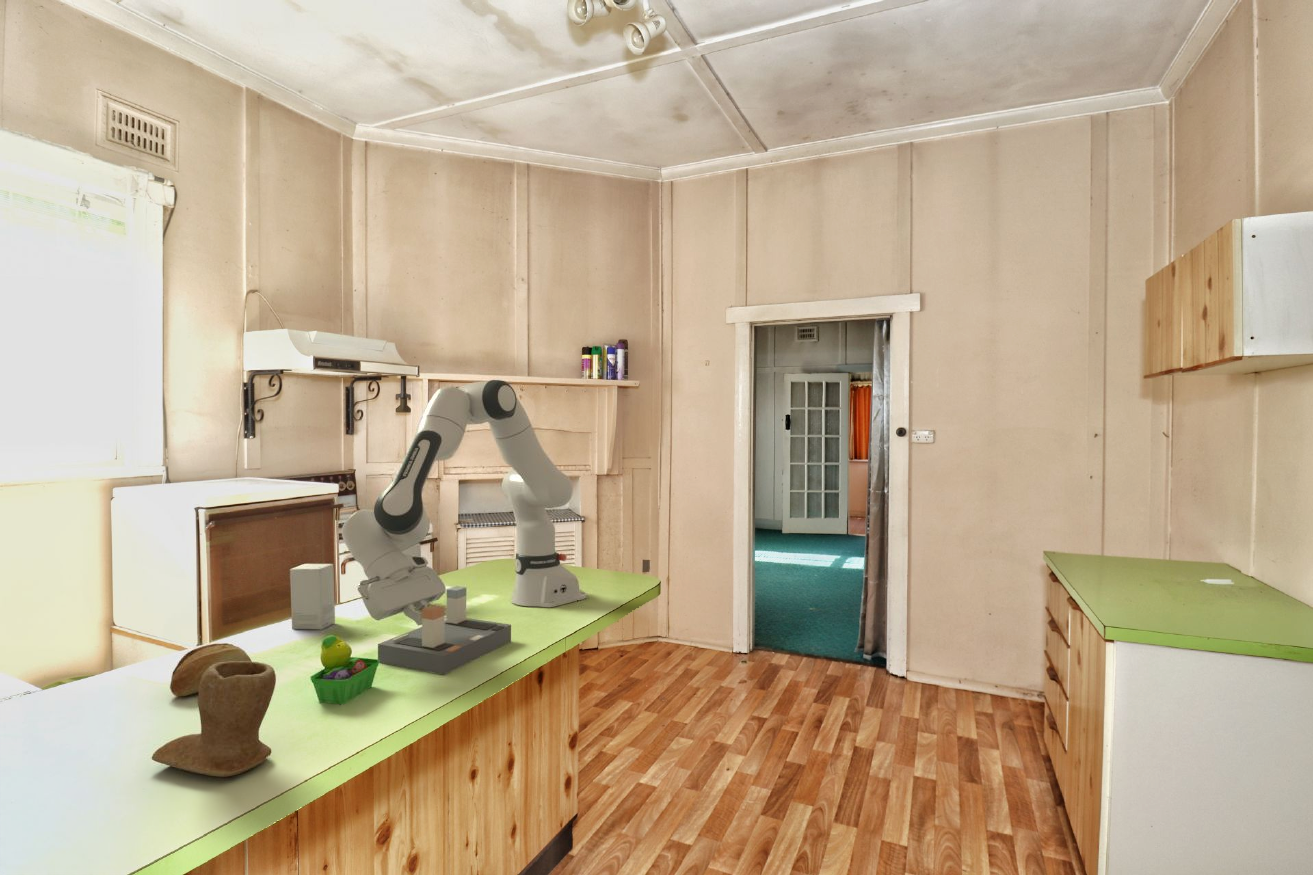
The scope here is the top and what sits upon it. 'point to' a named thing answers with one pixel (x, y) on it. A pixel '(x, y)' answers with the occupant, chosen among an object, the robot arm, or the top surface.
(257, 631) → the top surface
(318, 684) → the fruit basket
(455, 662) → the console
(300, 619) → the skincare box
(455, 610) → the switch
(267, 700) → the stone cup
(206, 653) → the bread roll
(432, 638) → the switch
